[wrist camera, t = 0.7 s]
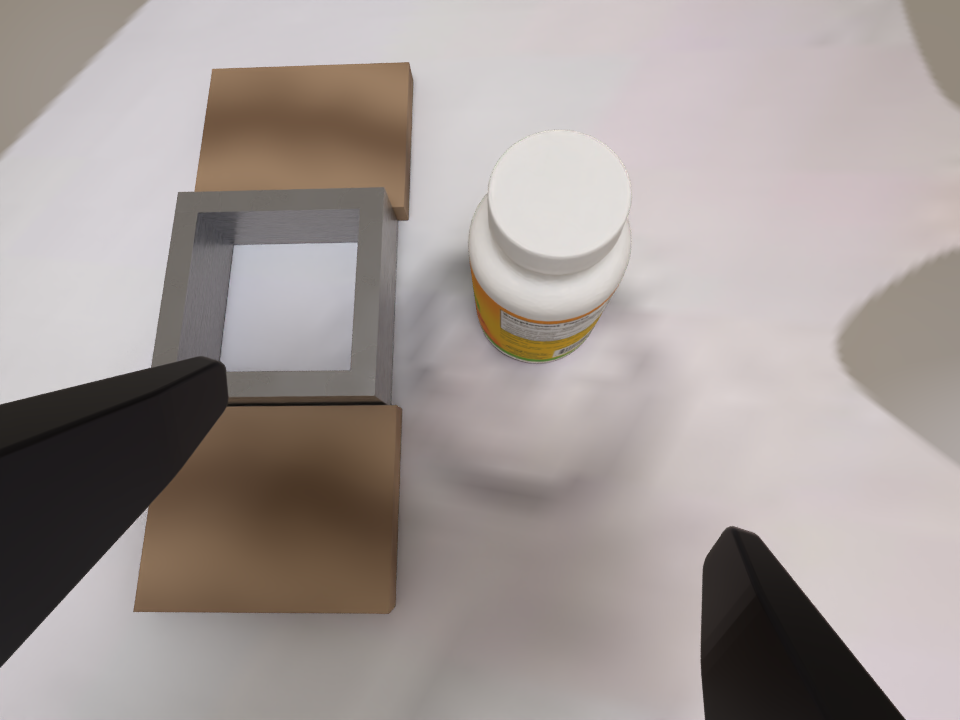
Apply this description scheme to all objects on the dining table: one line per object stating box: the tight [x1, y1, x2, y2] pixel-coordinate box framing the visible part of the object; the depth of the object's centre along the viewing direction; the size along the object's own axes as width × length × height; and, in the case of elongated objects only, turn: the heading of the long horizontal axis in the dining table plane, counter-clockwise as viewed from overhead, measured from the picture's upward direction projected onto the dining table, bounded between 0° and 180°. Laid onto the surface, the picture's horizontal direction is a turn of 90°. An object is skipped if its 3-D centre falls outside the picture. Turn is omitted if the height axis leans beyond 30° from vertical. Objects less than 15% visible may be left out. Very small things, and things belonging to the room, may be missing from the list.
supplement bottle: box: [468, 130, 632, 363], centre depth 19 cm, size 5×5×10 cm
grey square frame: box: [151, 187, 398, 407], centre depth 22 cm, size 9×9×3 cm
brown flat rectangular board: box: [133, 62, 413, 614], centre depth 23 cm, size 25×10×1 cm, turn 0°
